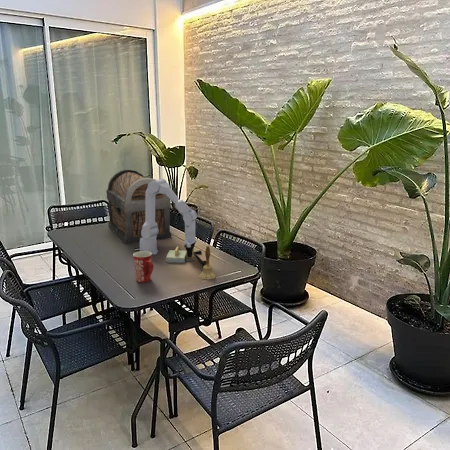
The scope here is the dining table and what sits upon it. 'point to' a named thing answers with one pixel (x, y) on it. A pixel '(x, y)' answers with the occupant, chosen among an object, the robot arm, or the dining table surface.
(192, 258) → the wooden block
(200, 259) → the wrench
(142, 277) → the mug
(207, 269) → the hand bell
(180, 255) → the lid
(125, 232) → the treasure chest
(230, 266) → the dining table surface
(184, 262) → the shallow grey tray
